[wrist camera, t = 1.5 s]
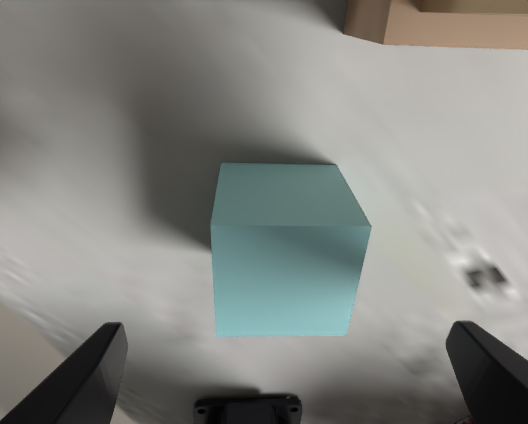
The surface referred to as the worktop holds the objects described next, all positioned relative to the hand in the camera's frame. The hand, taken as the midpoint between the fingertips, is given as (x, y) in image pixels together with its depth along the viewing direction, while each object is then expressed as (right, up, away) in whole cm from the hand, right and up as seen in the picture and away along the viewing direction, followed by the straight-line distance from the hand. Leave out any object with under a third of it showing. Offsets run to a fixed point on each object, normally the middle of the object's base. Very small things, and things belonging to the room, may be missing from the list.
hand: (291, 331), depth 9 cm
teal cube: (0, +3, +5) cm, 6 cm away
